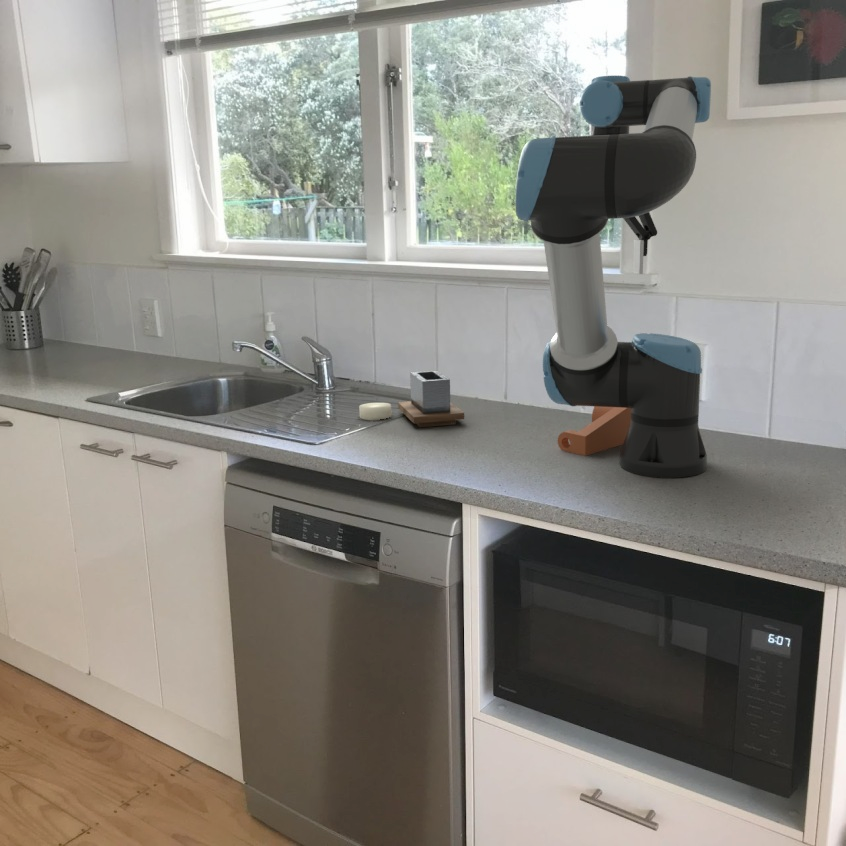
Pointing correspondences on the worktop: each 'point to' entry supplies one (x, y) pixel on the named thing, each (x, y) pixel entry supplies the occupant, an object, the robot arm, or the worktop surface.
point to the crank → (598, 432)
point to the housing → (430, 392)
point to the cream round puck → (375, 411)
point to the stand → (430, 415)
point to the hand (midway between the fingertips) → (606, 275)
